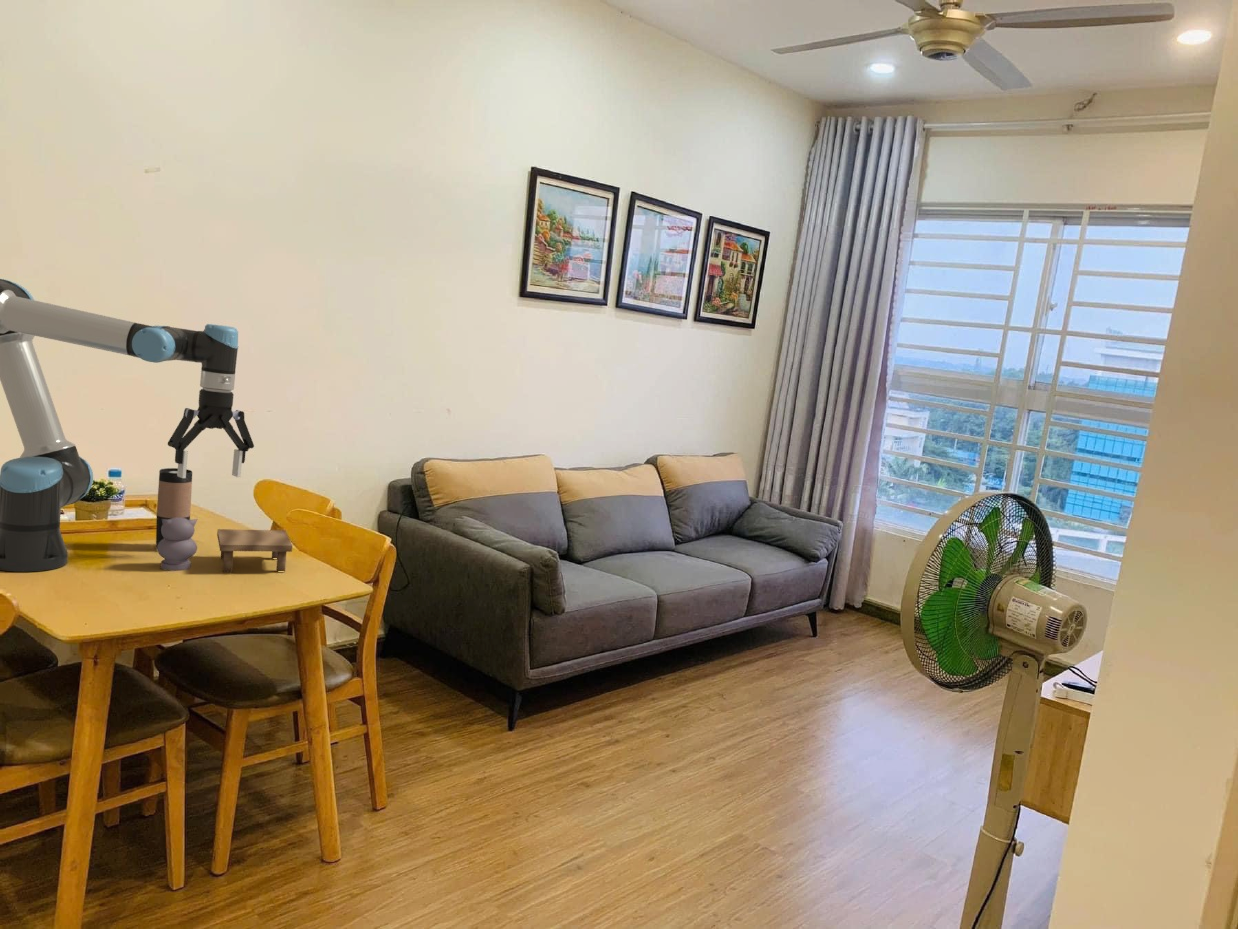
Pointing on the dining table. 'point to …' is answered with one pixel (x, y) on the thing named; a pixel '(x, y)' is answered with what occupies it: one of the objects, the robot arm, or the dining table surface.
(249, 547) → the footstool
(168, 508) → the travel mug
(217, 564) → the dining table surface
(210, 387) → the robot arm
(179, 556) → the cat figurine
